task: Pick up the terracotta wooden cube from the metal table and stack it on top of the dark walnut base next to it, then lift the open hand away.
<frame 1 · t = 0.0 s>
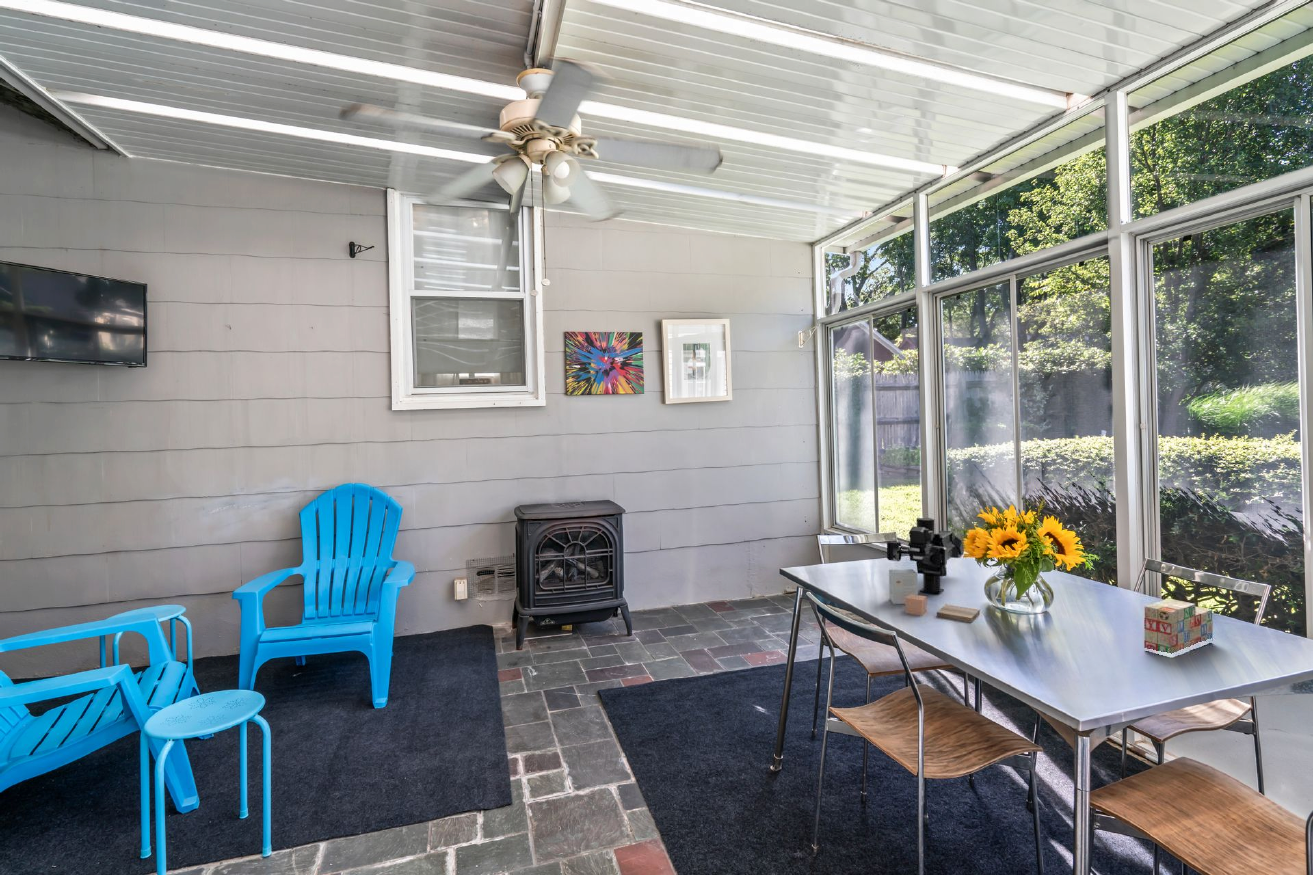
hand: (907, 558, 209), 17 cm above the table, tool horizontal, fingers open, 9 cm apart
walnut base: (958, 617, 202), on the table
stack of blocks: (1178, 648, 172), on the table
small box: (903, 602, 218), on the table
terracotta cube: (916, 612, 206), on the table
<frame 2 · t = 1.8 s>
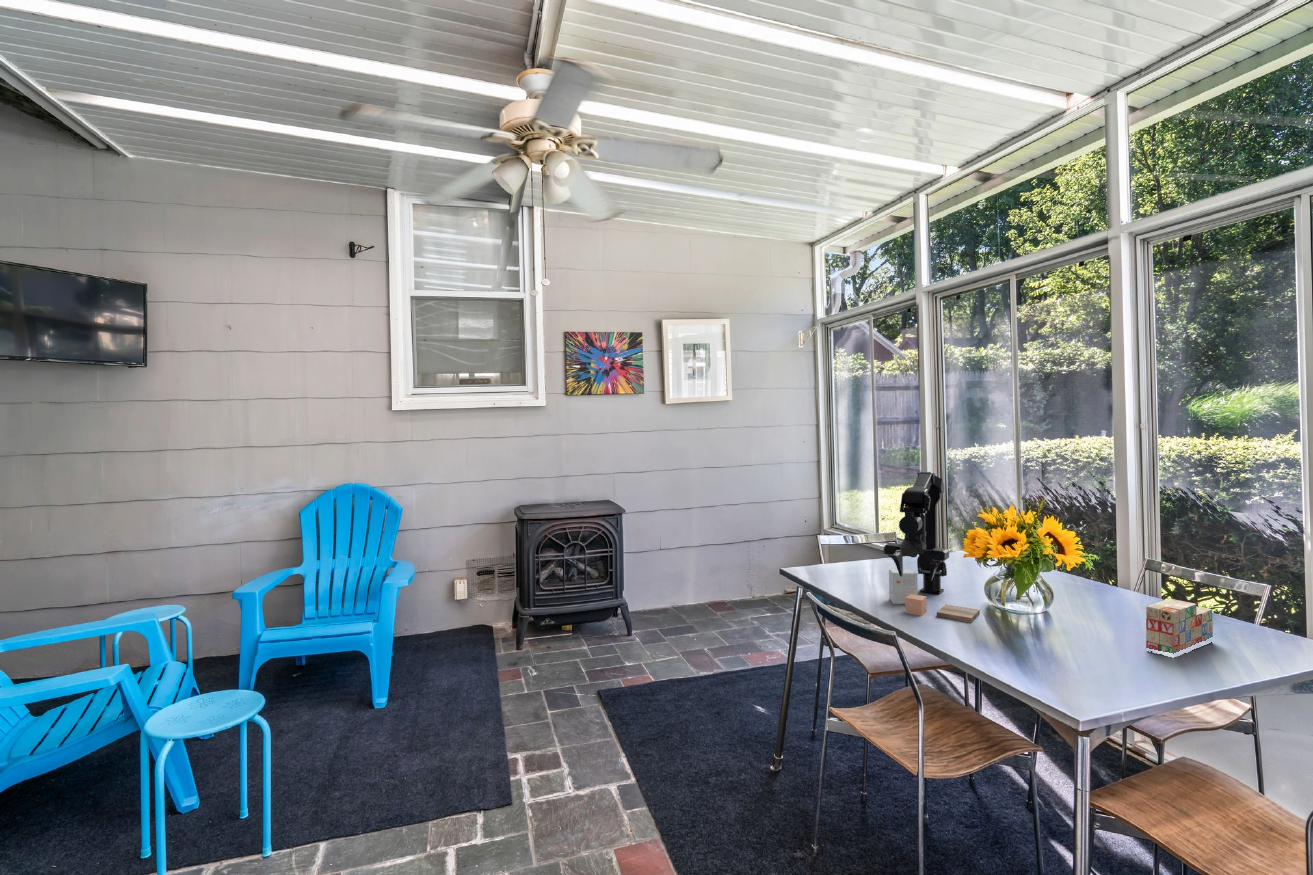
hand: (915, 578, 206), 11 cm above the table, tool pointing down, fingers open, 9 cm apart
nothing on the table moved.
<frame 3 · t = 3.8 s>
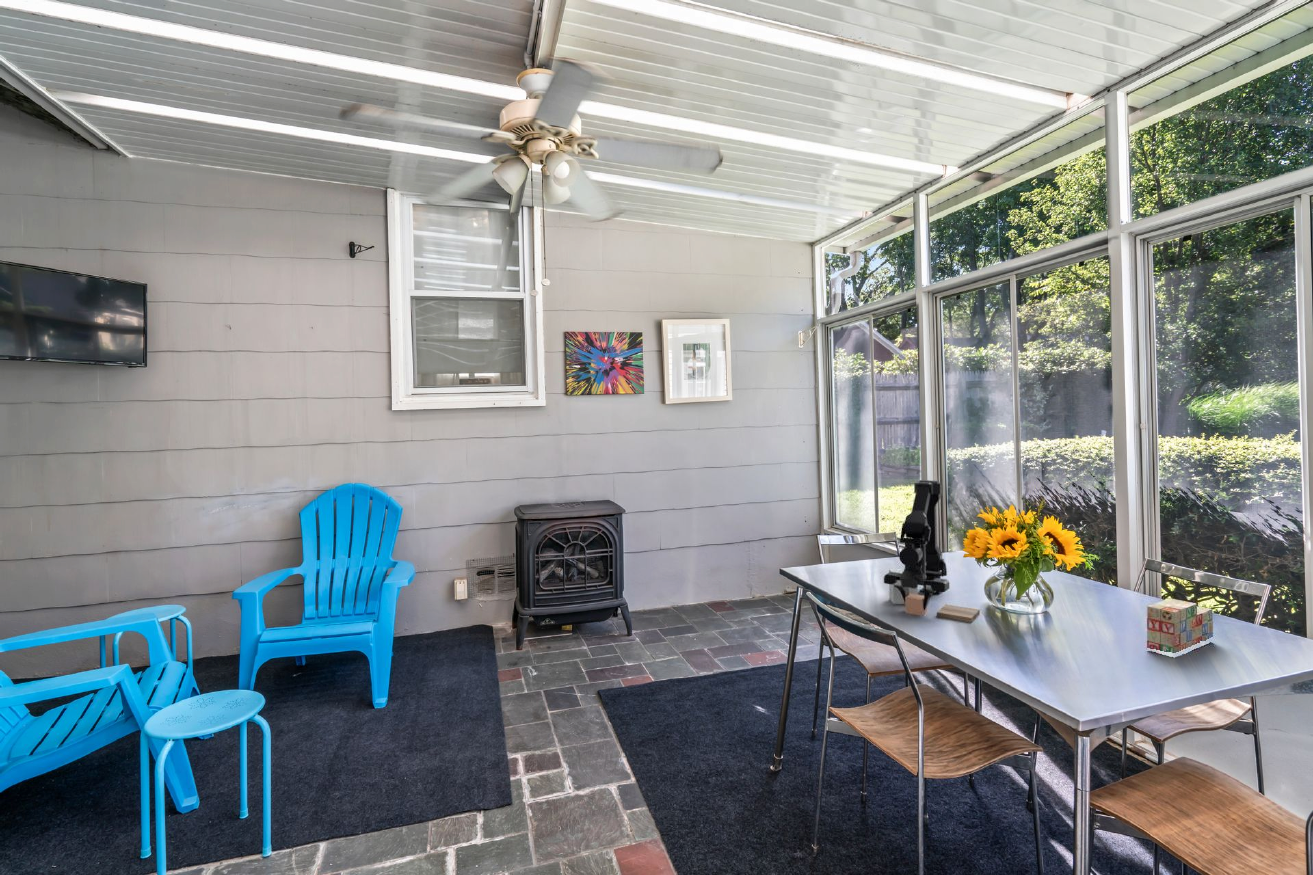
hand: (916, 608, 206), 1 cm above the table, tool pointing down, fingers closed on terracotta cube, 5 cm apart
terracotta cube: (916, 612, 206), on the table, touching gripper
everything else where it was.
when the fingers open (4 cm above the table, at t = 9.0 s): terracotta cube drops 2 cm, resting on walnut base.
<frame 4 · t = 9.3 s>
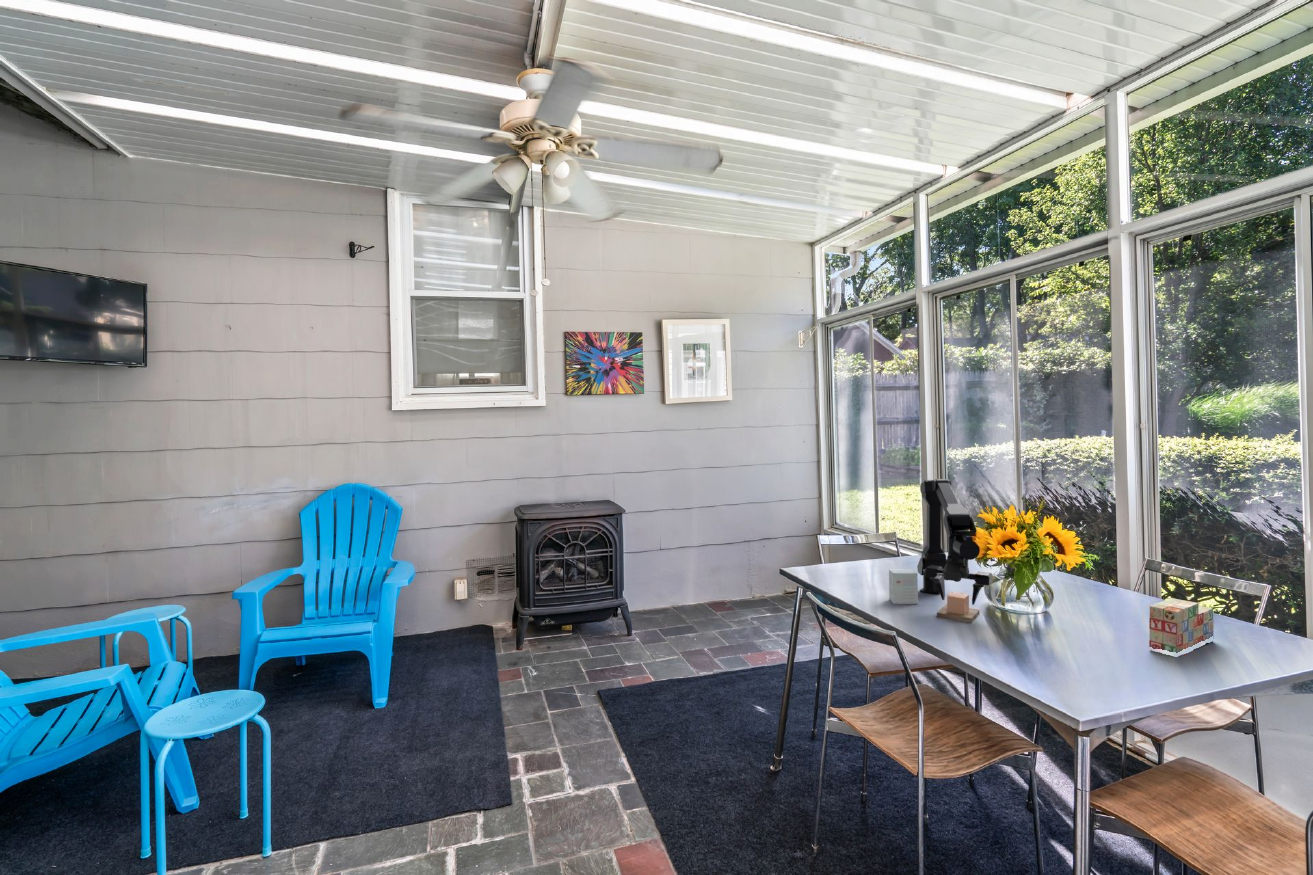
hand: (958, 602, 202), 4 cm above the table, tool pointing down, fingers open, 8 cm apart
walnut base: (958, 617, 202), on the table, touching terracotta cube
terracotta cube: (958, 611, 202), point 1 cm above the table, touching walnut base
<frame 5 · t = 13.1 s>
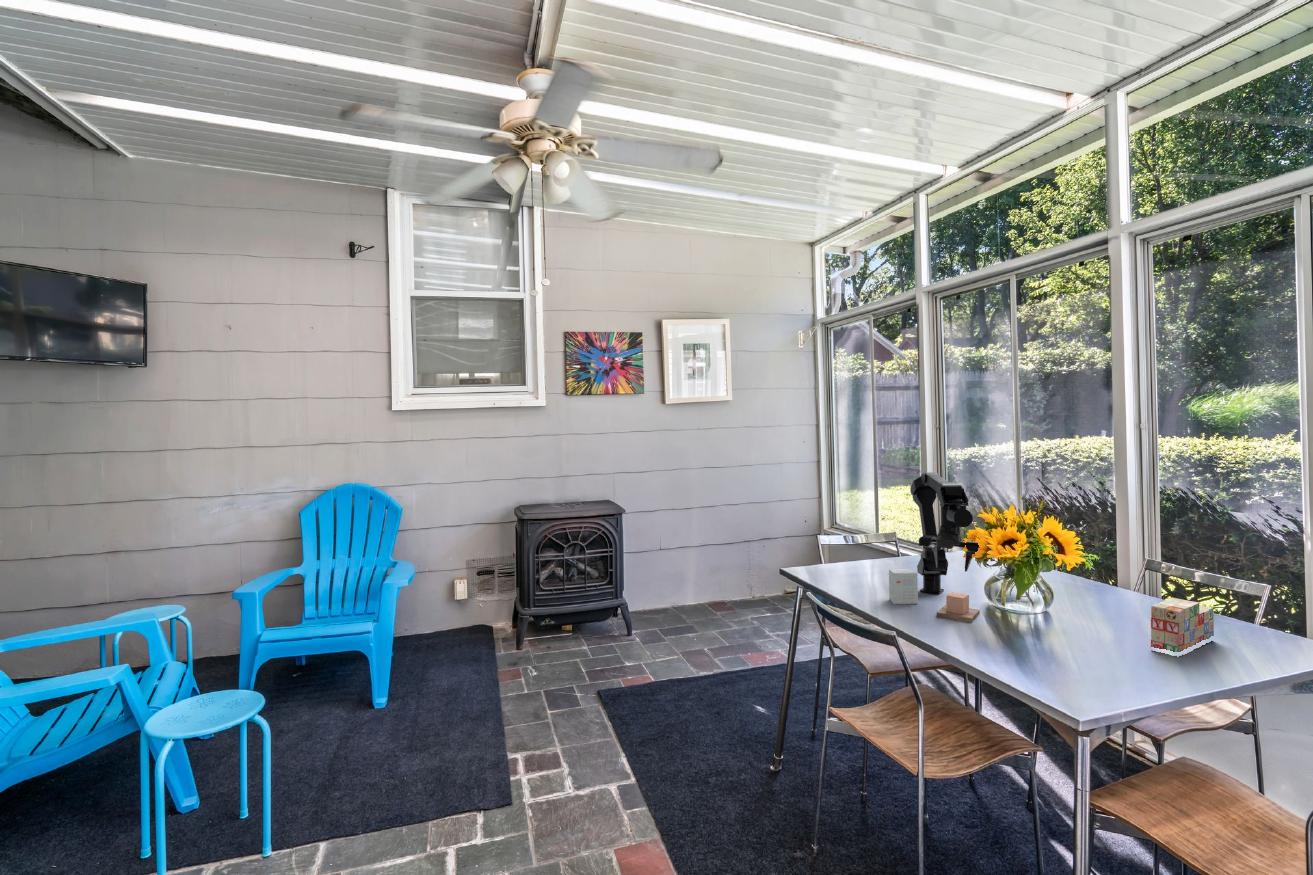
hand: (950, 569, 211), 12 cm above the table, tool pointing down, fingers open, 9 cm apart
walnut base: (958, 617, 202), on the table
terracotta cube: (957, 610, 202), point 1 cm above the table
at the end: terracotta cube inside the target area on the walnut base (0.2 cm from its centre), point 2.0 cm above the walnut base's base; terracotta cube tilted 0°; terracotta cube touching nothing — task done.
